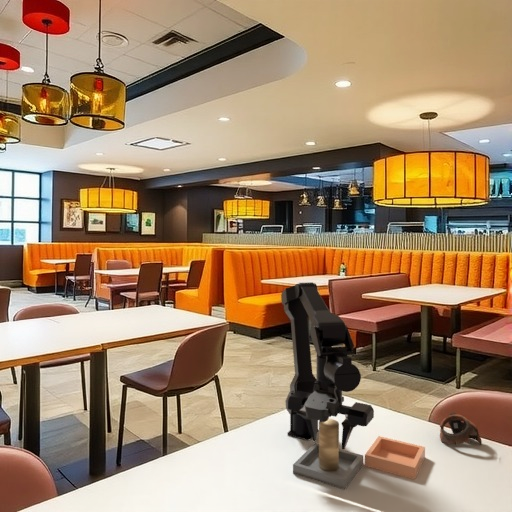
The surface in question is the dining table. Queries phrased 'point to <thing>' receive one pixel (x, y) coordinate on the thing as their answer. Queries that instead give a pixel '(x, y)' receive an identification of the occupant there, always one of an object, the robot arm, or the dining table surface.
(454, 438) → the dark brown vr controller
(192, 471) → the dining table surface
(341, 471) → the charcoal tray
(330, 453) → the maple peg
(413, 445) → the terracotta dish
